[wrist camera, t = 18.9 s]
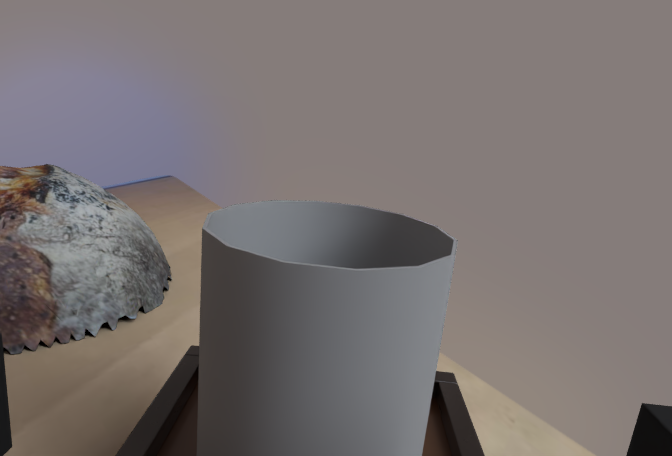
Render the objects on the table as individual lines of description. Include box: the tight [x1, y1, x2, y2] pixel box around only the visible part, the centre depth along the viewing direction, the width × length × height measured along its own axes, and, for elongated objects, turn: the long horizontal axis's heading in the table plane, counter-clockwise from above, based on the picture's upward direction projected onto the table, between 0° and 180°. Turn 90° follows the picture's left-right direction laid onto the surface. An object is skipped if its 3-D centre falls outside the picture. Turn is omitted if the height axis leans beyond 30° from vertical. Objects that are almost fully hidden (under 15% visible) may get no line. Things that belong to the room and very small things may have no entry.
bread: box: [0, 164, 172, 354], centre depth 43 cm, size 27×32×10 cm
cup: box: [197, 200, 458, 456], centre depth 17 cm, size 8×8×10 cm
